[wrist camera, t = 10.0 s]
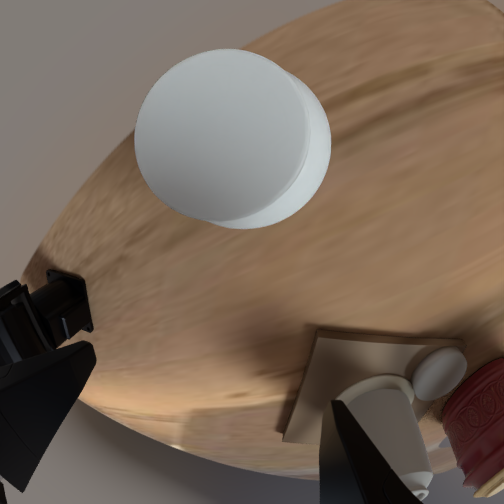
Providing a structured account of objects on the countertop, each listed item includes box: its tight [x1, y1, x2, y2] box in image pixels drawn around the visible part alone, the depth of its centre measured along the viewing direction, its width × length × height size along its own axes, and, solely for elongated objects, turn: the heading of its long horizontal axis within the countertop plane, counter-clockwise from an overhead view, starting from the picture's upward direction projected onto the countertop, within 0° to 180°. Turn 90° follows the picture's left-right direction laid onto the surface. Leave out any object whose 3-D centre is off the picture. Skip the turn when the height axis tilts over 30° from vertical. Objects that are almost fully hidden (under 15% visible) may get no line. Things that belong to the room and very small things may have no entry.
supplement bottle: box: [134, 49, 331, 229], centre depth 12 cm, size 7×7×13 cm
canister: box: [442, 358, 504, 497], centre depth 13 cm, size 13×13×18 cm
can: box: [346, 388, 433, 501], centre depth 16 cm, size 8×8×12 cm
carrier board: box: [282, 329, 467, 445], centre depth 22 cm, size 16×16×3 cm
